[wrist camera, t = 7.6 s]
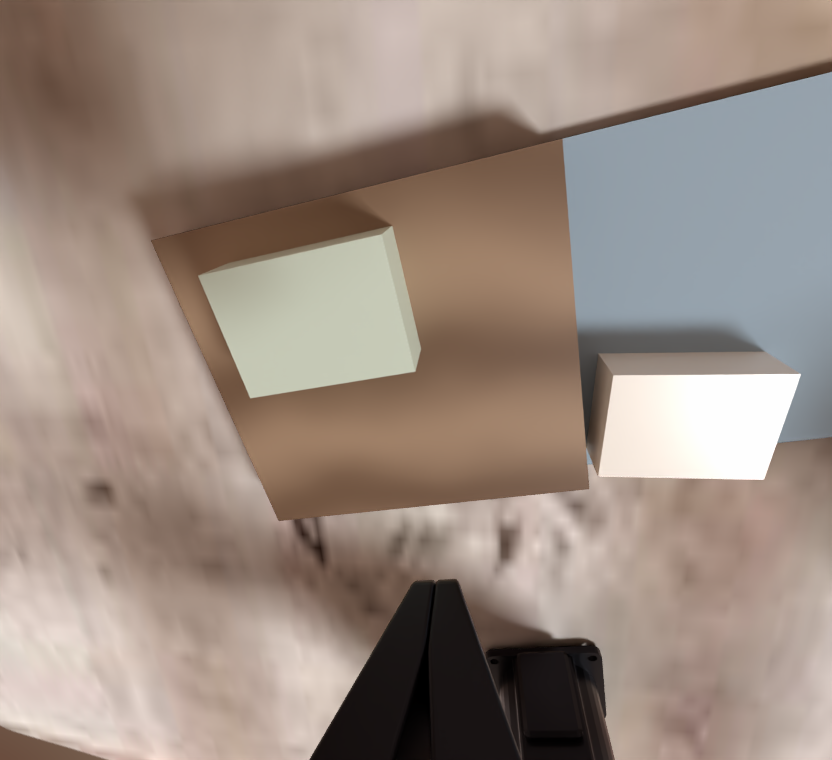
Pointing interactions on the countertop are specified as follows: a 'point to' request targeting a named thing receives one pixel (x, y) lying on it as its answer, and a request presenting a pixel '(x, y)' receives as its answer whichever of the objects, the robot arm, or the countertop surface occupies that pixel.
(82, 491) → the countertop surface
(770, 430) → the cream rectangular block
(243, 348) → the sage green cuboid
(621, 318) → the slate mat
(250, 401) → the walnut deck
